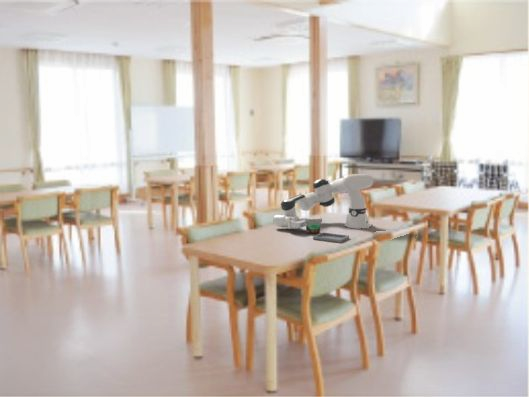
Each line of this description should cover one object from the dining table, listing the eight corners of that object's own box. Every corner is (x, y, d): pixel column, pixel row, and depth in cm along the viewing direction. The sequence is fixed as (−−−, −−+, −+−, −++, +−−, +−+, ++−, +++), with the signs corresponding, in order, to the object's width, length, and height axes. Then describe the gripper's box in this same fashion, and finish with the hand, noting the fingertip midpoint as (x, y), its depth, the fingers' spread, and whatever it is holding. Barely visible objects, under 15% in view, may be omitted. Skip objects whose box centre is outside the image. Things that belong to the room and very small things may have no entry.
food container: (307, 235, 364) (307, 220, 362) (304, 232, 370) (304, 218, 368) (324, 233, 367) (324, 219, 365) (321, 231, 373) (321, 217, 371)
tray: (322, 235, 363) (322, 232, 362) (349, 238, 353) (349, 235, 353) (313, 239, 350) (313, 236, 350) (340, 242, 340) (340, 239, 340)
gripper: (300, 224, 385) (318, 226, 378) (287, 229, 368) (305, 231, 361) (300, 215, 384) (318, 217, 377) (287, 220, 367) (305, 222, 360)
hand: (311, 224), depth 369 cm, fingers open, 3 cm apart
